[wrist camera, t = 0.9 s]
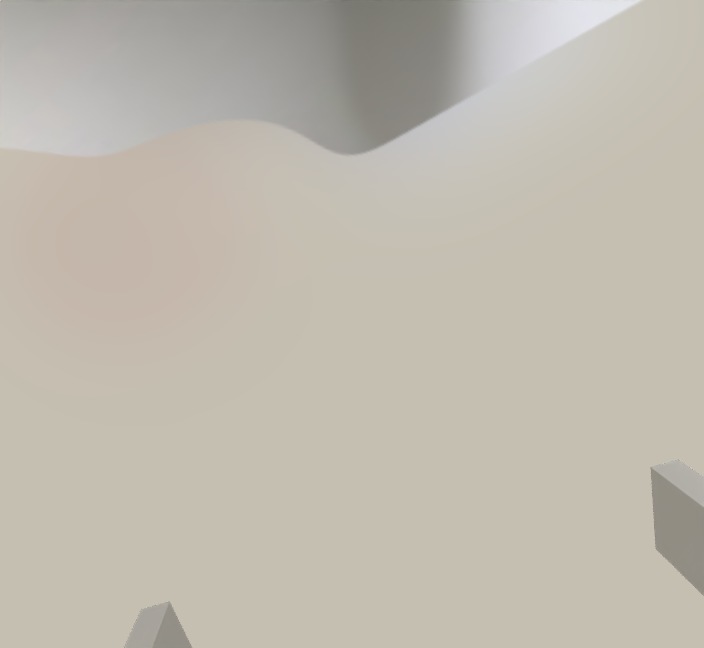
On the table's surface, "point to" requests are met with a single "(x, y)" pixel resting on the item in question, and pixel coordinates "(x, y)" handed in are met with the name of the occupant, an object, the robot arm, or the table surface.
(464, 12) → the table surface
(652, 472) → the robot arm
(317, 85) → the table surface
